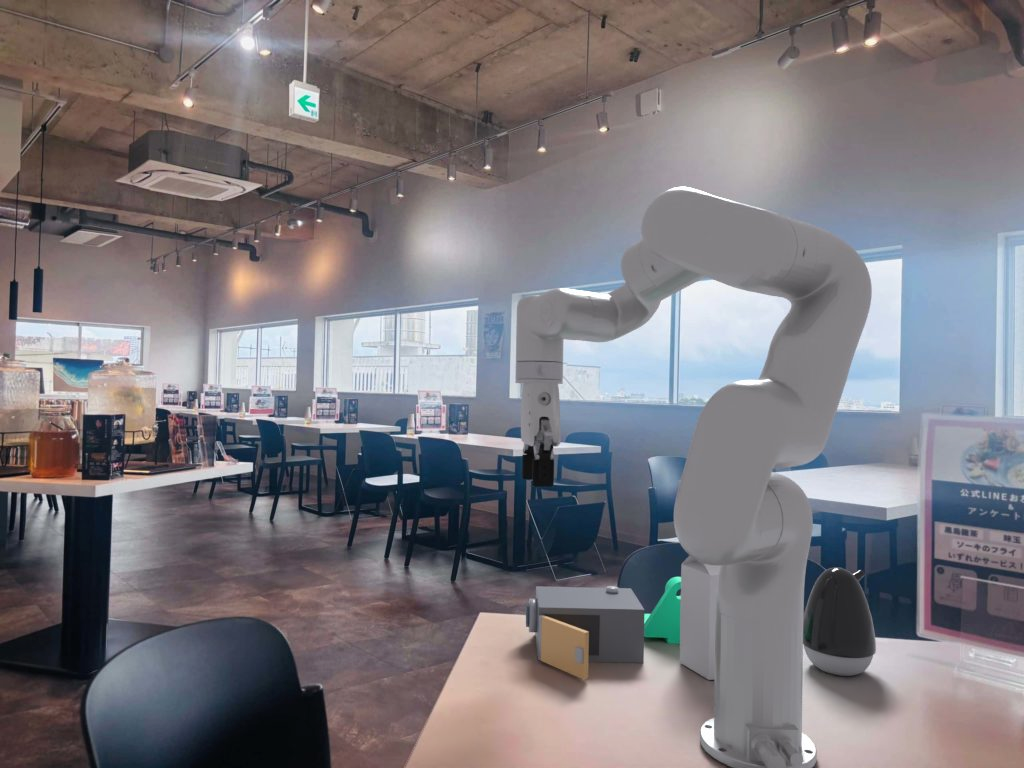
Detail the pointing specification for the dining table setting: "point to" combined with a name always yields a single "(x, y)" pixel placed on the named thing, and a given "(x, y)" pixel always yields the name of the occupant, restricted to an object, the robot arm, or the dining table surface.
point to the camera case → (595, 619)
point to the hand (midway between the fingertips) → (537, 482)
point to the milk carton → (698, 616)
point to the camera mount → (666, 614)
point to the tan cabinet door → (563, 646)
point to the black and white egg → (839, 624)
